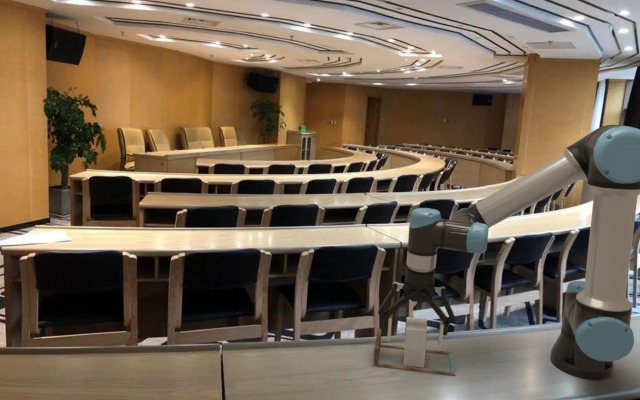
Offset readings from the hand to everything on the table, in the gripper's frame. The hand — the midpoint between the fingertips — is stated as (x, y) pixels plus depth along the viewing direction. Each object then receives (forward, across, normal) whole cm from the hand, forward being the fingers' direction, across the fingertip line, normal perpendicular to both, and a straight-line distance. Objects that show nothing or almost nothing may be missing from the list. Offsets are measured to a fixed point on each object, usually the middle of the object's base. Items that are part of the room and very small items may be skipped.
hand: (414, 342), depth 136 cm
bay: (+5, 0, 0) cm, 5 cm away
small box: (+5, 0, 0) cm, 5 cm away
